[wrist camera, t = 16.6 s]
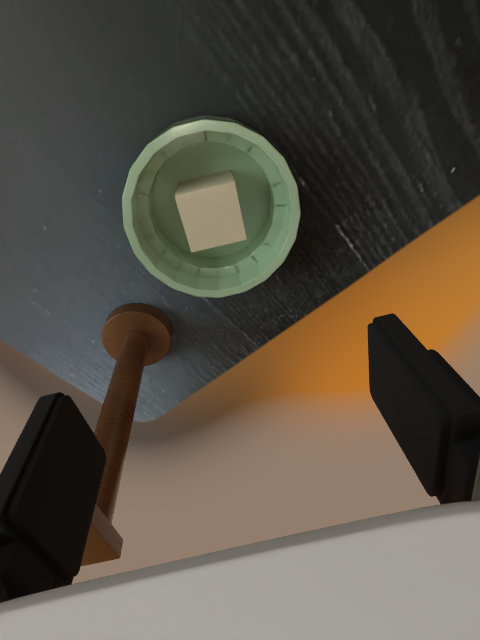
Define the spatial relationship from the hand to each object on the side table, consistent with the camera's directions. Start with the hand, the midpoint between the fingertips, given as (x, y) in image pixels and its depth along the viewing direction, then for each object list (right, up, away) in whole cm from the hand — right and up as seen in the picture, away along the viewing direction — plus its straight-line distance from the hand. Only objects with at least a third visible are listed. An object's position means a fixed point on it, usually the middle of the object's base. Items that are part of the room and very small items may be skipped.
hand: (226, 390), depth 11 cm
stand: (-9, +1, +23) cm, 25 cm away
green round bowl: (-2, +11, +17) cm, 21 cm away
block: (-2, +11, +17) cm, 20 cm away
